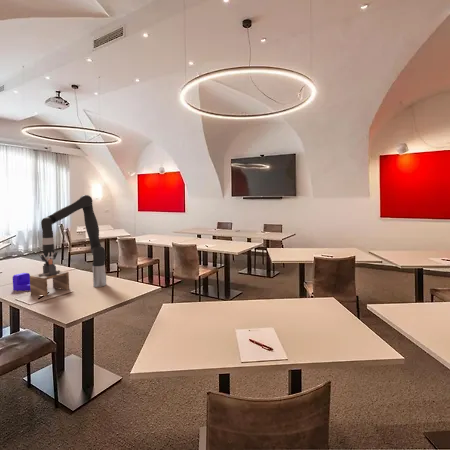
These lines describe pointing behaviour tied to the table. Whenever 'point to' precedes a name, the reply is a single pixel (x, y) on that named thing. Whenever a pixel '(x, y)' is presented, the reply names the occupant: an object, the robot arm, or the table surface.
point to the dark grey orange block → (49, 268)
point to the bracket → (21, 282)
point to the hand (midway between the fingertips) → (49, 265)
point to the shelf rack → (40, 282)
